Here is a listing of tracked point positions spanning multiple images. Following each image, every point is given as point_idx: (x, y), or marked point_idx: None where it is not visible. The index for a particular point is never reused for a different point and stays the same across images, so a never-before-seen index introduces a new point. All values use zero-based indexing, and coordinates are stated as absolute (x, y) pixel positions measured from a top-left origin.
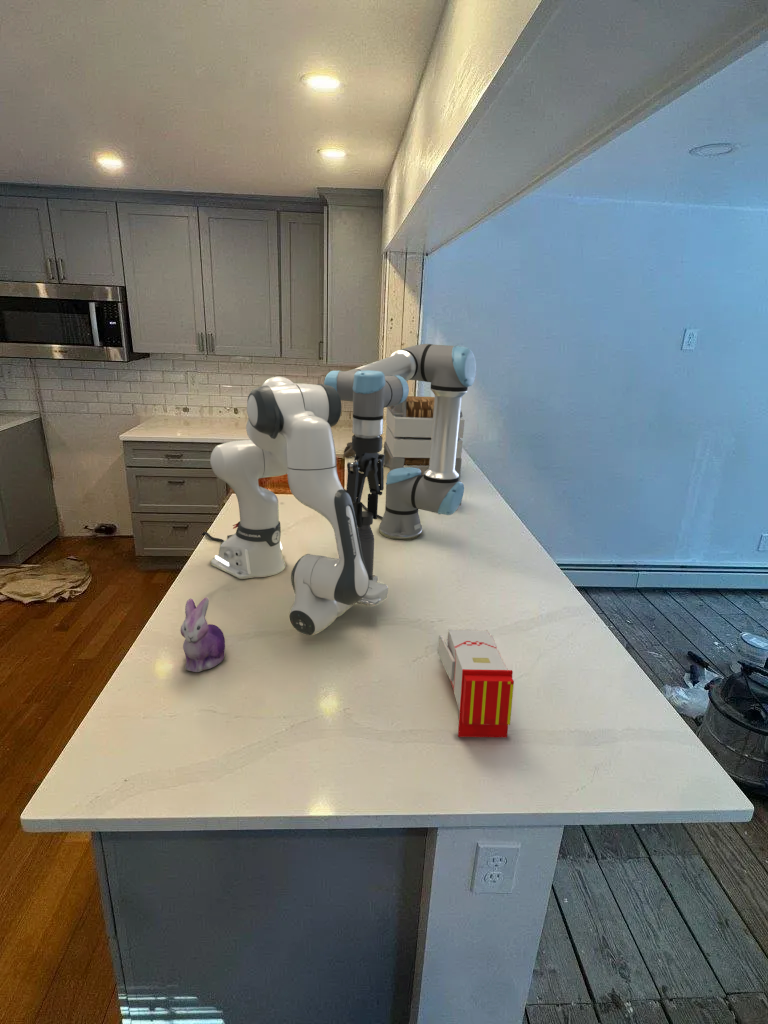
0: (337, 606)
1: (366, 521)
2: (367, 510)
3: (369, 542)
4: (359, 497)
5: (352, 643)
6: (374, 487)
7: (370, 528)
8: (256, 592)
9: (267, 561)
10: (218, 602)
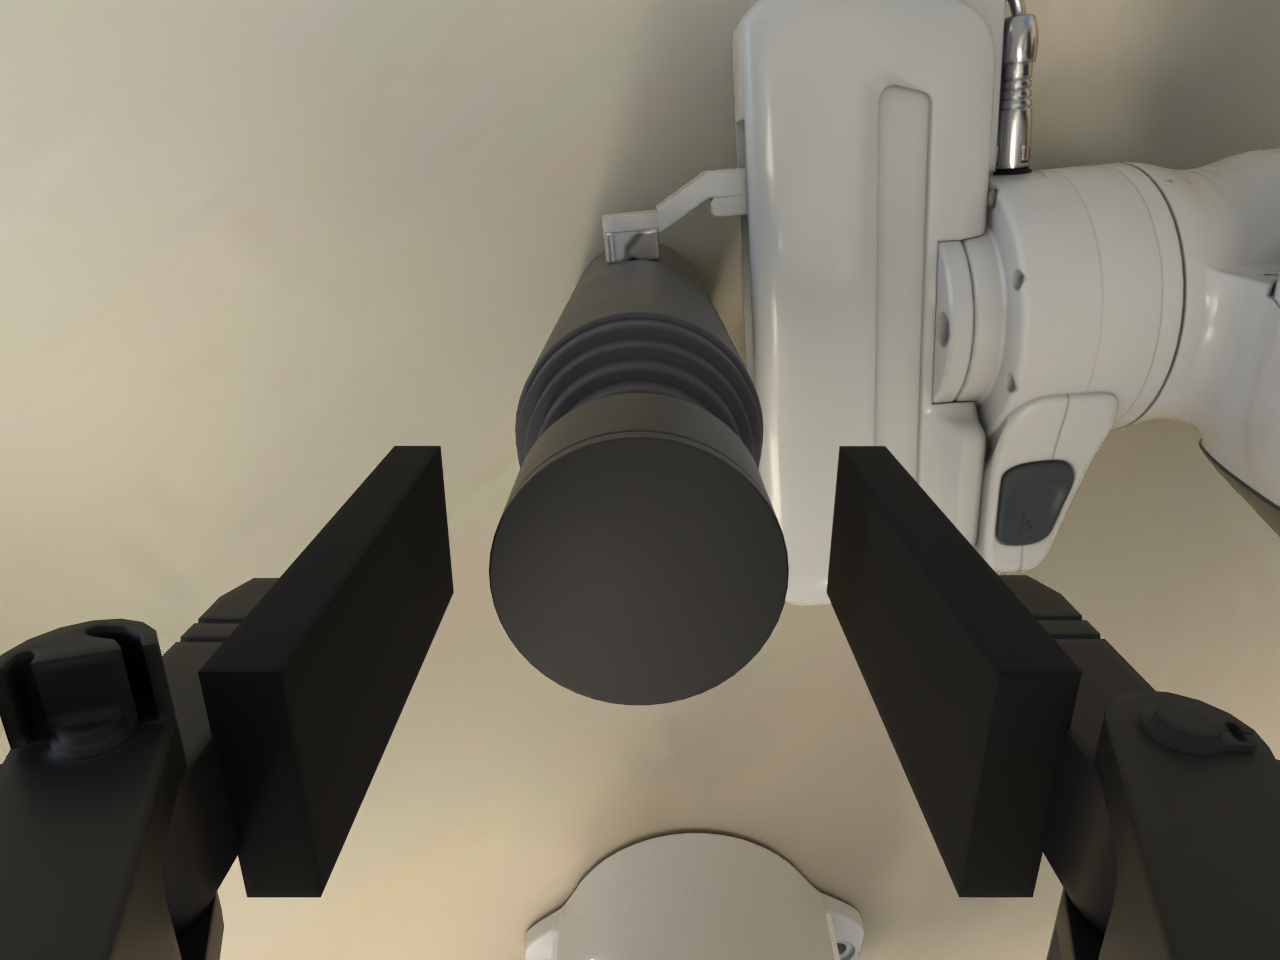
0: (1258, 165)
1: (736, 448)
2: (425, 649)
3: (692, 321)
4: (1240, 814)
5: (1191, 6)
6: (151, 948)
7: None
8: None
9: (759, 925)
10: None
